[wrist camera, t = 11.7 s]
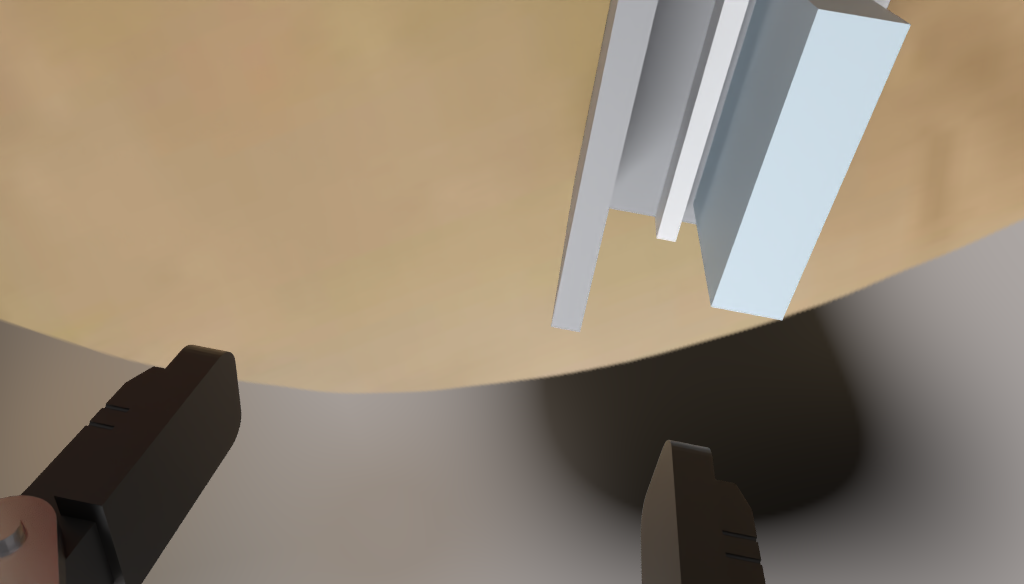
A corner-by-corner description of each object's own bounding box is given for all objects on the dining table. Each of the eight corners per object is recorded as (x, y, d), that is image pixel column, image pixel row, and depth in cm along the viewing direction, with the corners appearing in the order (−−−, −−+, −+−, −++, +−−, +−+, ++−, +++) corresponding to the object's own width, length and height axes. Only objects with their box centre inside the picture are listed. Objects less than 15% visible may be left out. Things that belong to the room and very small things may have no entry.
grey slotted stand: (632, -110, 32) (635, -82, 20) (895, -67, 31) (1053, -13, 20) (573, 186, 40) (551, 326, 29) (780, 224, 40) (843, 382, 28)
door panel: (767, -36, 31) (818, 8, 23) (834, -25, 31) (910, 24, 23) (692, 204, 38) (711, 306, 29) (747, 214, 38) (782, 320, 29)
